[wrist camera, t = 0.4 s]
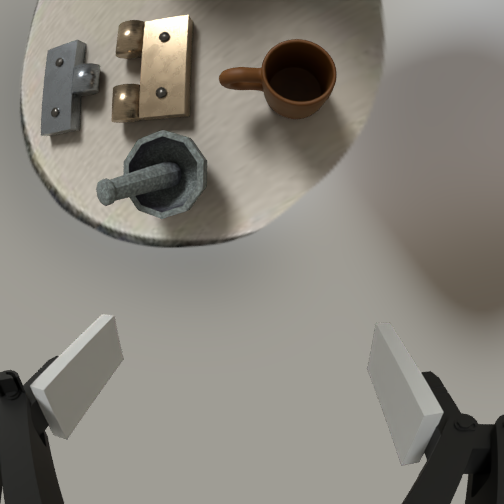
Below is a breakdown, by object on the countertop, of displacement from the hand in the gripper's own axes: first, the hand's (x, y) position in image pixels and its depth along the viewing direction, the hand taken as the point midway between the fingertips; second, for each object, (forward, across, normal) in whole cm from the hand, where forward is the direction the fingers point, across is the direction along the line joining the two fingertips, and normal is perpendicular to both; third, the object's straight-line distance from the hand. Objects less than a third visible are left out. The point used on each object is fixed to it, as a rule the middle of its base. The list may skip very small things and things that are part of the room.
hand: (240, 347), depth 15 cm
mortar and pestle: (+27, -11, +8) cm, 31 cm away
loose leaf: (+27, -27, +22) cm, 44 cm away
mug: (+28, +2, +18) cm, 33 cm away
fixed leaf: (+27, -14, +22) cm, 38 cm away
